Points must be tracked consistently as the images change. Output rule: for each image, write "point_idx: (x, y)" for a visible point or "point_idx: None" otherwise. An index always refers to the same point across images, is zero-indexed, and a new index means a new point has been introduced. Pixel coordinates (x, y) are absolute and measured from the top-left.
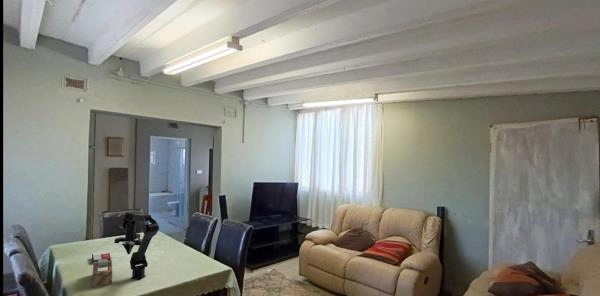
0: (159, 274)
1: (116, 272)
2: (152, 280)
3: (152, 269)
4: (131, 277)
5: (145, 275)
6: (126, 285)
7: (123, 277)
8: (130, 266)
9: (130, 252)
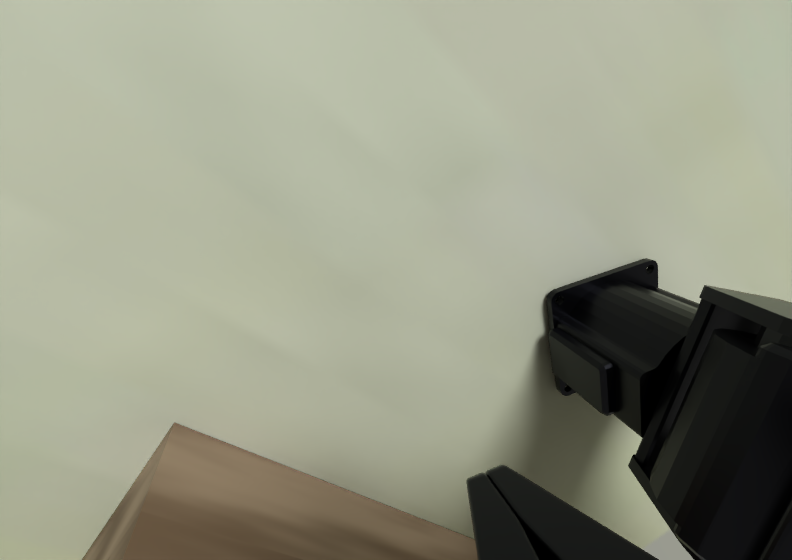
0: (743, 131)
1: (243, 380)
2: (754, 294)
3: (576, 21)
4: (562, 386)
5: (650, 264)
6: (623, 484)
7: (463, 413)
8: (647, 491)
9: (540, 491)
